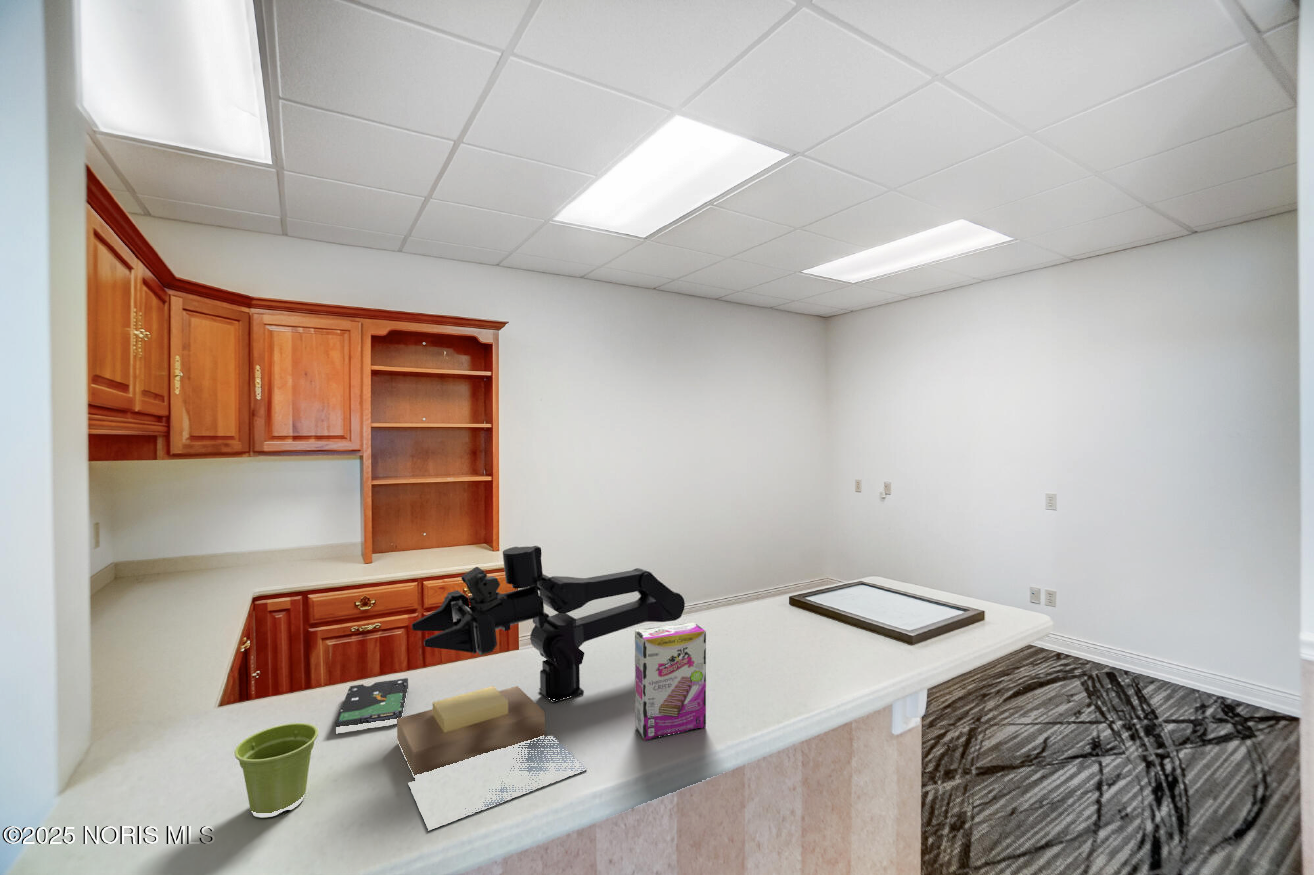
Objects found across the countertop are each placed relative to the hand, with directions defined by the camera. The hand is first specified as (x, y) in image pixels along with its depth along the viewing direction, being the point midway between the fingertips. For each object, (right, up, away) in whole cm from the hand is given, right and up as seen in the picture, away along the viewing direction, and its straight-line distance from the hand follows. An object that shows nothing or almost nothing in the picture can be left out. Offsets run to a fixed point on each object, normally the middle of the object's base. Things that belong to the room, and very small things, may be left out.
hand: (418, 634), depth 96 cm
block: (+9, -12, -2) cm, 15 cm away
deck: (+10, -16, -2) cm, 19 cm away
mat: (+17, -16, -12) cm, 26 cm away
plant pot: (-11, -17, -18) cm, 27 cm away
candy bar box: (+42, -16, +1) cm, 45 cm away
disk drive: (-11, -17, +9) cm, 22 cm away
